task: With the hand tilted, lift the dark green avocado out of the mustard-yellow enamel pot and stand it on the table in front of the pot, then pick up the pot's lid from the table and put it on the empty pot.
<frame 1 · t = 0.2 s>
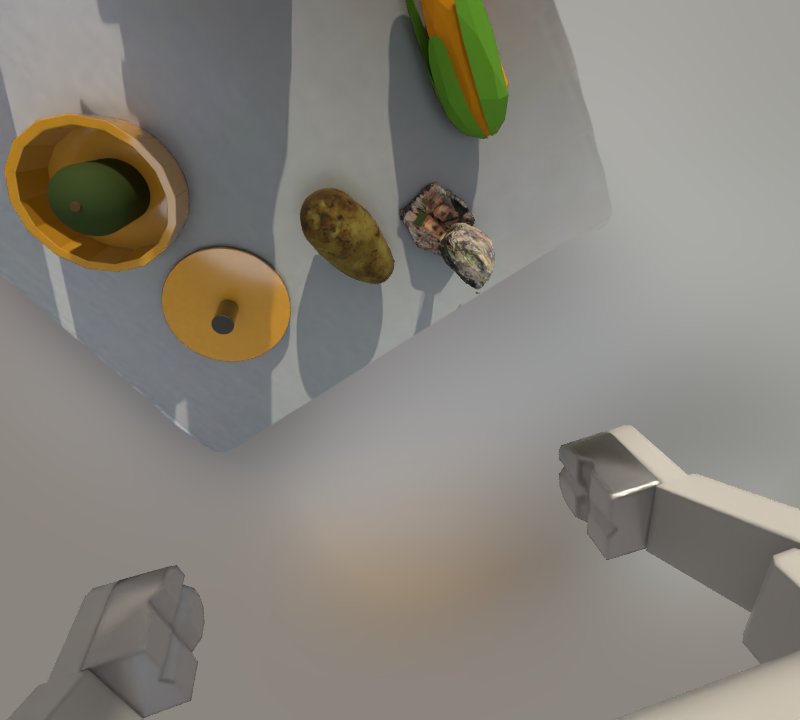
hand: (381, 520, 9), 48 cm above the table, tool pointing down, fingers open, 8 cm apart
potato: (345, 233, 53), on the table
pot: (118, 190, 46), on the table
avocado: (117, 190, 46), resting on pot
corn: (443, 40, 46), on the table
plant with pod: (441, 227, 56), on the table
lid: (228, 306, 54), point 1 cm above the table
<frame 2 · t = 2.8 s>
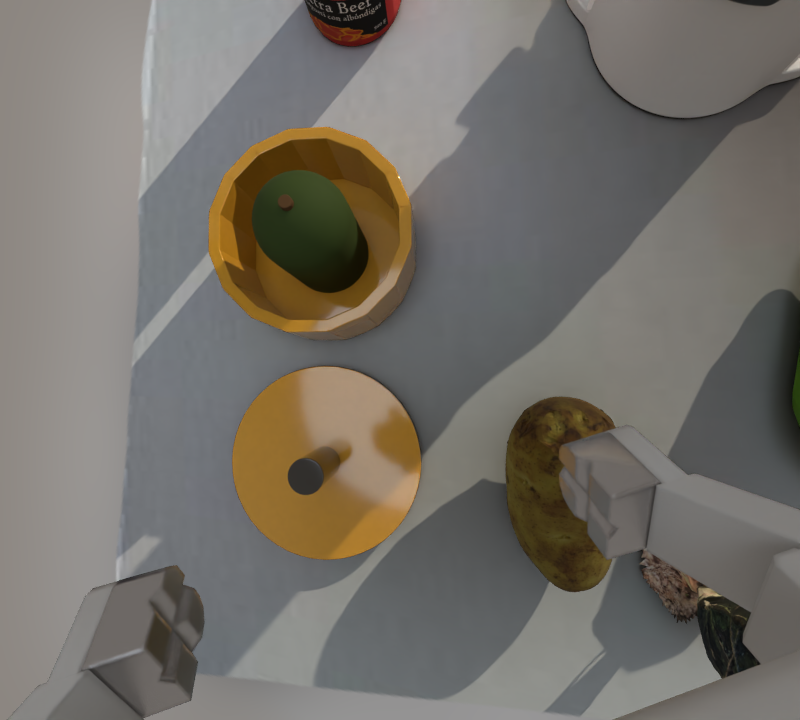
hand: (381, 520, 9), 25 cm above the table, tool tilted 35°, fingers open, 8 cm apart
potato: (545, 480, 33), on the table
pot: (331, 255, 35), on the table
avocado: (329, 254, 35), resting on pot
canned food: (356, 5, 36), on the table
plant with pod: (691, 571, 32), on the table
lid: (326, 460, 34), point 1 cm above the table
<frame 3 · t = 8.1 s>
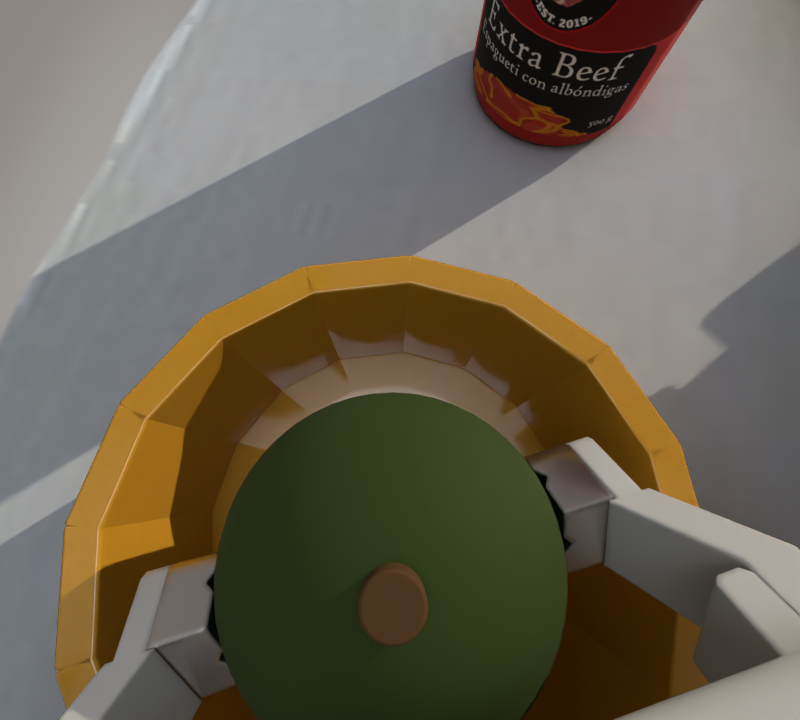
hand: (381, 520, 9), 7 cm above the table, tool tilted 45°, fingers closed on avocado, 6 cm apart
pot: (390, 522, 15), on the table
avocado: (391, 523, 15), resting on pot, touching gripper
canned food: (550, 87, 21), on the table
when the fingers open (6 cm above the table, at t = 16.4 s): avocado stays where it is, on the table.
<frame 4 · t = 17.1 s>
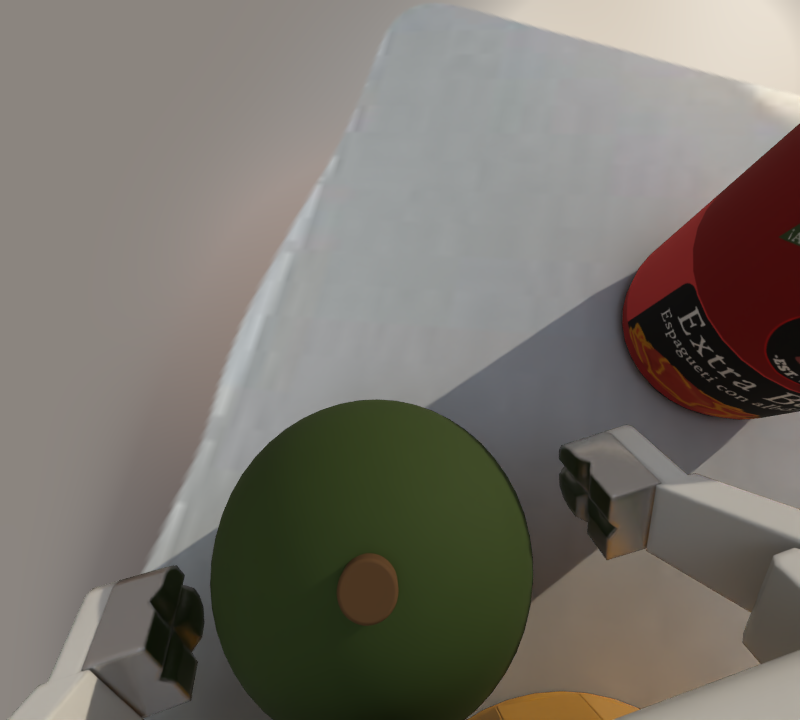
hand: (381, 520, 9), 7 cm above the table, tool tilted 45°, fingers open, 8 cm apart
avocado: (380, 522, 16), on the table
canned food: (705, 330, 18), on the table
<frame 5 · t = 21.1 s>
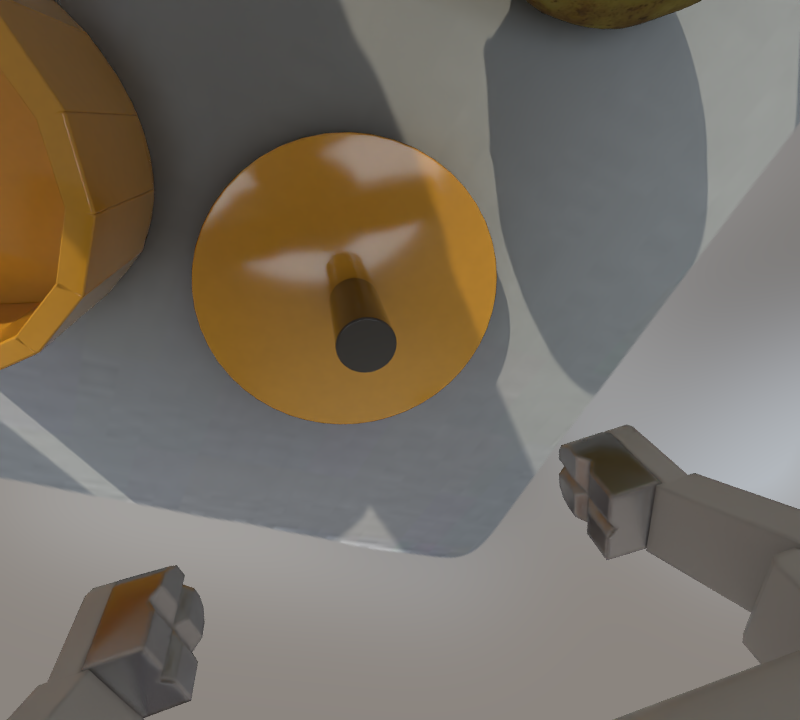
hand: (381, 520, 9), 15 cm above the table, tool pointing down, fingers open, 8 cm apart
lid: (353, 297, 22), point 1 cm above the table
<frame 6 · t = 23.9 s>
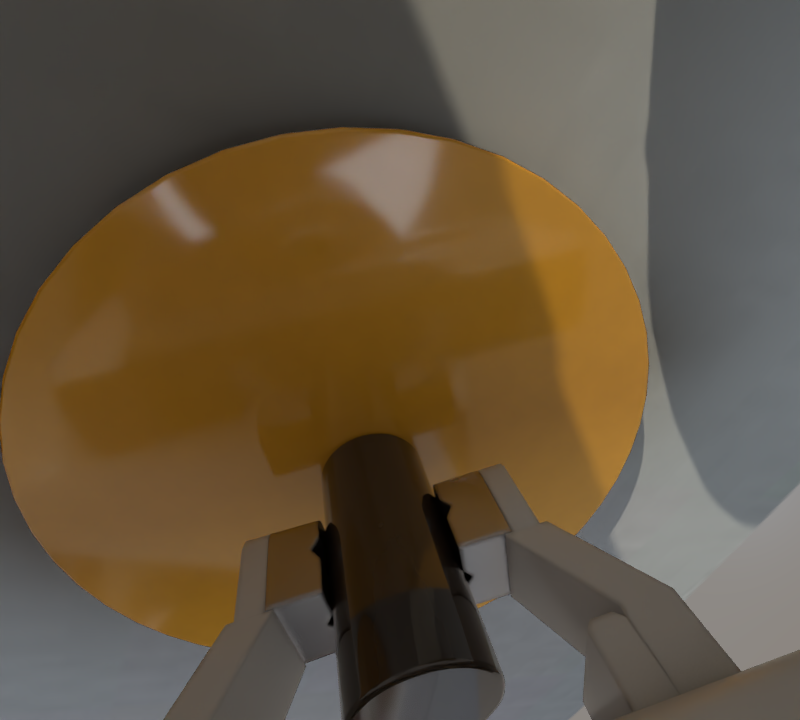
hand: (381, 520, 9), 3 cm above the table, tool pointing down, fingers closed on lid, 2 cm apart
lid: (368, 456, 11), point 1 cm above the table, touching gripper
when the fingers open (8 cm above the table, at t = 30.5 s): lid stays where it is, resting on pot.
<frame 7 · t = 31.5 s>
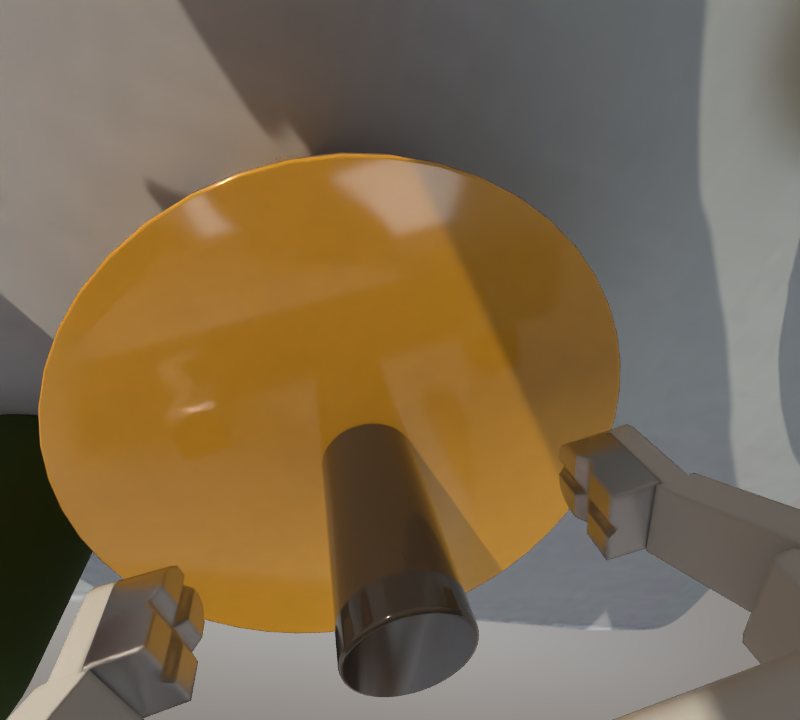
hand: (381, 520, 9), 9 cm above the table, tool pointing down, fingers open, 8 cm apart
avocado: (32, 479, 17), on the table
lid: (364, 445, 12), point 6 cm above the table, touching pot
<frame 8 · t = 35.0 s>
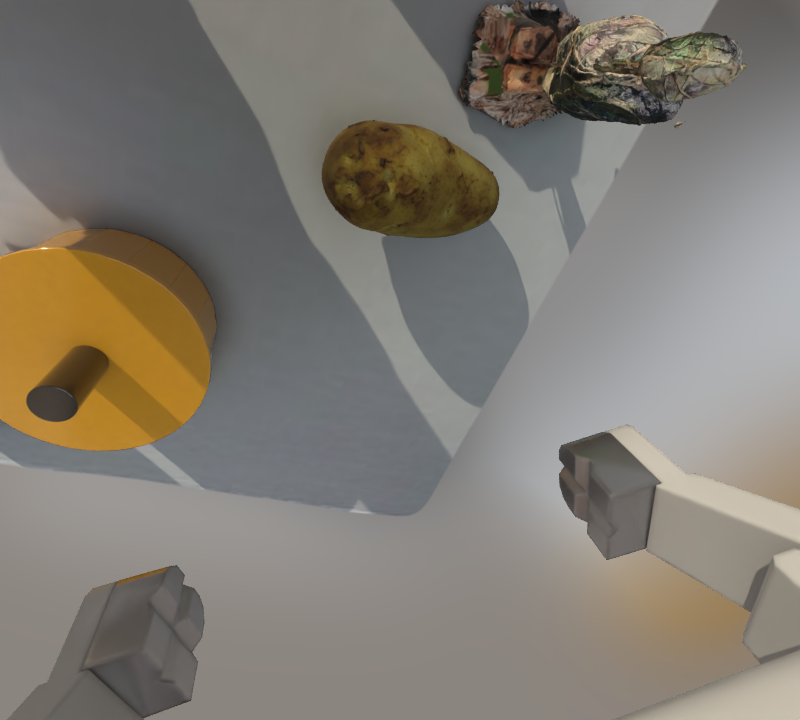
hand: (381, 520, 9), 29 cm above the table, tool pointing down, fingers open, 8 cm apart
potato: (402, 183, 34), on the table
pot: (122, 317, 34), on the table
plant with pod: (530, 72, 32), on the table
lid: (91, 357, 29), point 6 cm above the table, touching pot
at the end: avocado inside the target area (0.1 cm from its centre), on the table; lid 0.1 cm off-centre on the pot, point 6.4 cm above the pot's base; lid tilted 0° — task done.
